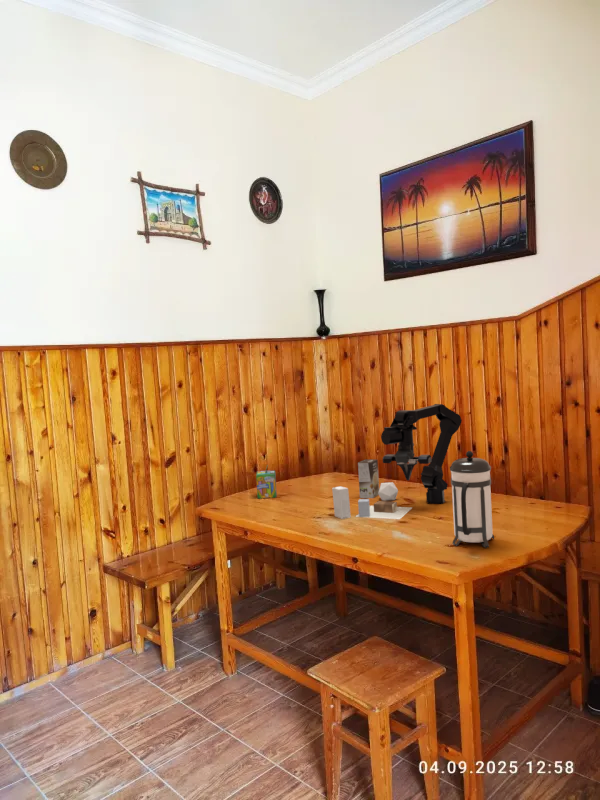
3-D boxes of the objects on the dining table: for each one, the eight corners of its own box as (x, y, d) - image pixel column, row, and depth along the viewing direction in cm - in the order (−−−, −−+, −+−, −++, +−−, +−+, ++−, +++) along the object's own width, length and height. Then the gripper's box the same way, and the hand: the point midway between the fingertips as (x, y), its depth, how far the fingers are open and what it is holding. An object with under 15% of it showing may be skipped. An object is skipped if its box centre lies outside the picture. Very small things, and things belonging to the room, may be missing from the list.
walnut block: (396, 501, 241) (377, 501, 245) (392, 504, 237) (373, 503, 240) (397, 509, 242) (378, 508, 245) (393, 512, 237) (374, 511, 241)
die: (393, 505, 254) (403, 485, 257) (375, 495, 255) (384, 475, 258) (390, 507, 262) (400, 488, 265) (373, 498, 263) (382, 479, 266)
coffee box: (372, 498, 266) (370, 462, 265) (359, 498, 269) (357, 462, 268) (379, 494, 274) (377, 459, 273) (366, 493, 277) (364, 459, 276)
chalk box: (257, 494, 289) (255, 464, 288) (276, 493, 289) (274, 463, 288) (257, 499, 280) (254, 467, 279) (276, 497, 280) (274, 466, 279)
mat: (412, 509, 243) (412, 507, 243) (399, 520, 227) (399, 519, 227) (370, 506, 251) (370, 505, 251) (355, 518, 235) (355, 516, 235)
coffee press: (439, 539, 201) (434, 450, 200) (482, 533, 205) (478, 446, 203) (464, 554, 185) (460, 457, 183) (511, 547, 188) (507, 452, 186)
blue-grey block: (370, 514, 238) (369, 499, 237) (369, 516, 234) (368, 501, 233) (359, 514, 238) (359, 499, 238) (358, 516, 234) (358, 501, 234)
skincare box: (351, 518, 235) (349, 488, 234) (341, 520, 233) (339, 489, 232) (343, 515, 240) (341, 485, 239) (333, 517, 238) (331, 487, 238)
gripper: (377, 444, 238) (379, 483, 239) (423, 444, 230) (425, 485, 231) (385, 440, 248) (388, 478, 249) (430, 440, 240) (432, 479, 241)
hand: (408, 480), depth 242 cm, fingers closed
